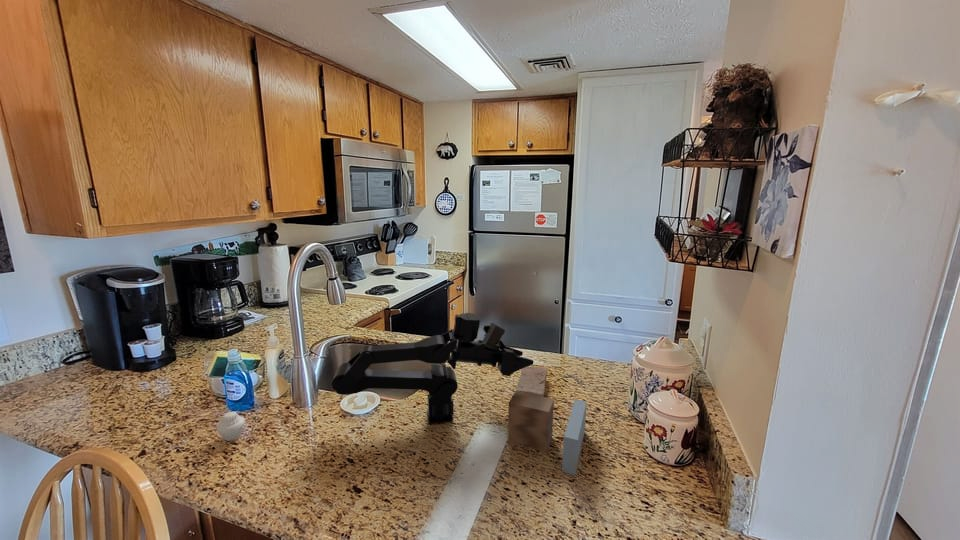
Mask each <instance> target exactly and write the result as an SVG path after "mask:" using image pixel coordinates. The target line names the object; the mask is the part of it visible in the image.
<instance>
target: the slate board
mask: <svg viewBox="0 0 960 540" xmlns="http://www.w3.org/2000/svg"><path fill="white" fill-rule="evenodd" d="M573 400H574V401H573V404H572V409H571V410H570V414H569V419H568V421H567V425H566V429H565V432H564V436H563V446H562V447H563V448H562V462H561V472H563V473H565V474H570V475H574V476H576V474H577V470H578V465H579V460H580V456H581V451H582V446H583V442H584V437H585V431H586V417H587V416H586V414H587V404H588V402H587V401H585V400H579V399H573Z"/></svg>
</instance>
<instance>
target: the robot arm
mask: <svg viewBox="0 0 960 540" xmlns="http://www.w3.org/2000/svg"><path fill="white" fill-rule="evenodd" d="M480 323H481V316H479V315H478V314H475V313H472V312H466V313H460V314H455V316H454V325H453V328H452V329H450V330H448V331H446V332H445V333H442V334H436V335H432V336H427V337H425V338H423V339H420V340H419V341H414V342H402V343H390V344H378V345H377V344H376V345H370V344H368V345H364V346H363V347H362V348H361V349H360V350H359V351H358V352H357V353H355V355H353V356H352V357H351V358H350V359H349V360H348V362H344V363H342V364H340V365H339V366H338V367H337V369H336V372H335V374H334V376H333V379H332V382H331V386H332V389H333V391H334V392H335V393H336V394H338V395H342V396H346V395H353V394H358V393H361V392H363V391H366V390H369V389H375V390H376V389H377V390H378V389H379V390H381V389H382V390H409V391H411V390H415V391H418V390H419V391H425V392H427V409H426V413H427V417H428V423H429V425H434V424H440V423H446V422H447V423H449V422H453V420H454V418H453V416H454V413H455V412H454V410H455V409H454V400H453V395H454V394H455V393H456V392H457V390H458V388H459V387H458V380H457V375H456V372H455V371H454V370H455V369H456V367H457V363H465V364H476V365H477V366H479V367H482V366H483V365H487V366H491V367H493V368H497V370H498V371H499V372H500V374H501V375H502V376H503V377H505V376H506V377H511V375H513V373H515V372H517V371H520V370H521V369H523V368H525V367H528V366H529V367H531V366H532V365H534V361H535V360H533V359H531V358H527V357H523V354H524V352H523V351H521V350H519V349H516V348H514V347H511V346H507V345H505V343H504V342H503V341H502V340H501V339H502V337H503V336H504V334H505V333H506V329H505V328H503V327H502V326H501V325H498V324H496V323H494V322H490V324H484V326H483V328H482V330H483V332H484V333H485V334H484V335H483V336H484V337H483V339H478V340H477V338H478V334H479V328H480ZM475 340H476V341H475ZM409 361H419V362H423V363H426V364H430V366H431V368H430V369H428V370H425V371H410V370H409V371H408V370H385V369H381V370H380V369H370V368H369V367H370V366H371V365H376V364H385V363H387V364H389V363H398V362H399V363H400V362H409ZM446 362H447V364H448V365H449V366H447V364H446ZM450 366H451V367H450Z"/></svg>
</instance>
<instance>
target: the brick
mask: <svg viewBox="0 0 960 540" xmlns="http://www.w3.org/2000/svg"><path fill="white" fill-rule="evenodd" d="M520 370H521V371H520V376H519V378H518V382H517V385H516V390H515V391H519V392H523V393H528V394H533V395H538V396H542V397H545V389H546V384H547V383H546V382H547V376H548V375H547V374H548V369H547V368H546V367H542V366H528V367H525V368H523V369H520Z"/></svg>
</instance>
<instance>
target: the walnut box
mask: <svg viewBox="0 0 960 540" xmlns="http://www.w3.org/2000/svg"><path fill="white" fill-rule="evenodd" d="M554 406H555V398H551V397H546V396H544V397H542V396H538V395H533V394H528V393H523V392H519V391H516V390H515V392H514V393H513V394H512V397H511V398H510V400H509V401H508V412H507V413H508V415H507V416H508V417H507V419H508V420H507V443H510V442H511V444H515V445H518V446H521V447H525V446H526V447H525V448H529V447H530V448H531V449H534V450H537V451H541V452H543V453H544V452H546V453H548V450H549V447H550V445H551V441H552V439H553V430H554V429H553V427H554V426H553V424H554V408H555V407H554Z"/></svg>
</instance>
